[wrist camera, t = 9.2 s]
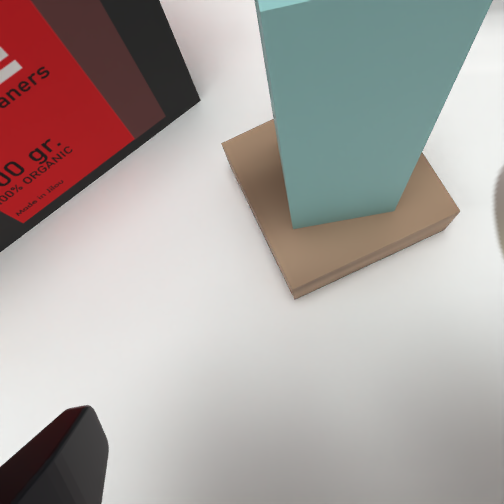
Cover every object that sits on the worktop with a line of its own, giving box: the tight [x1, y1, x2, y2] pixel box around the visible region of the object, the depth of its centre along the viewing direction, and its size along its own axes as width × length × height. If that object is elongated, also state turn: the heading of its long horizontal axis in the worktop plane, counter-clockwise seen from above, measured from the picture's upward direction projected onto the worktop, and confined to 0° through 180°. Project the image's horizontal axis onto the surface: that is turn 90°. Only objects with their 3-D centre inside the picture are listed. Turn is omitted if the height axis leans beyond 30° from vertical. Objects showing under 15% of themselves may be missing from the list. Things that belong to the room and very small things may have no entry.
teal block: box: [255, 0, 493, 229], centre depth 15 cm, size 4×4×12 cm
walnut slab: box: [221, 119, 460, 299], centre depth 22 cm, size 8×8×2 cm
